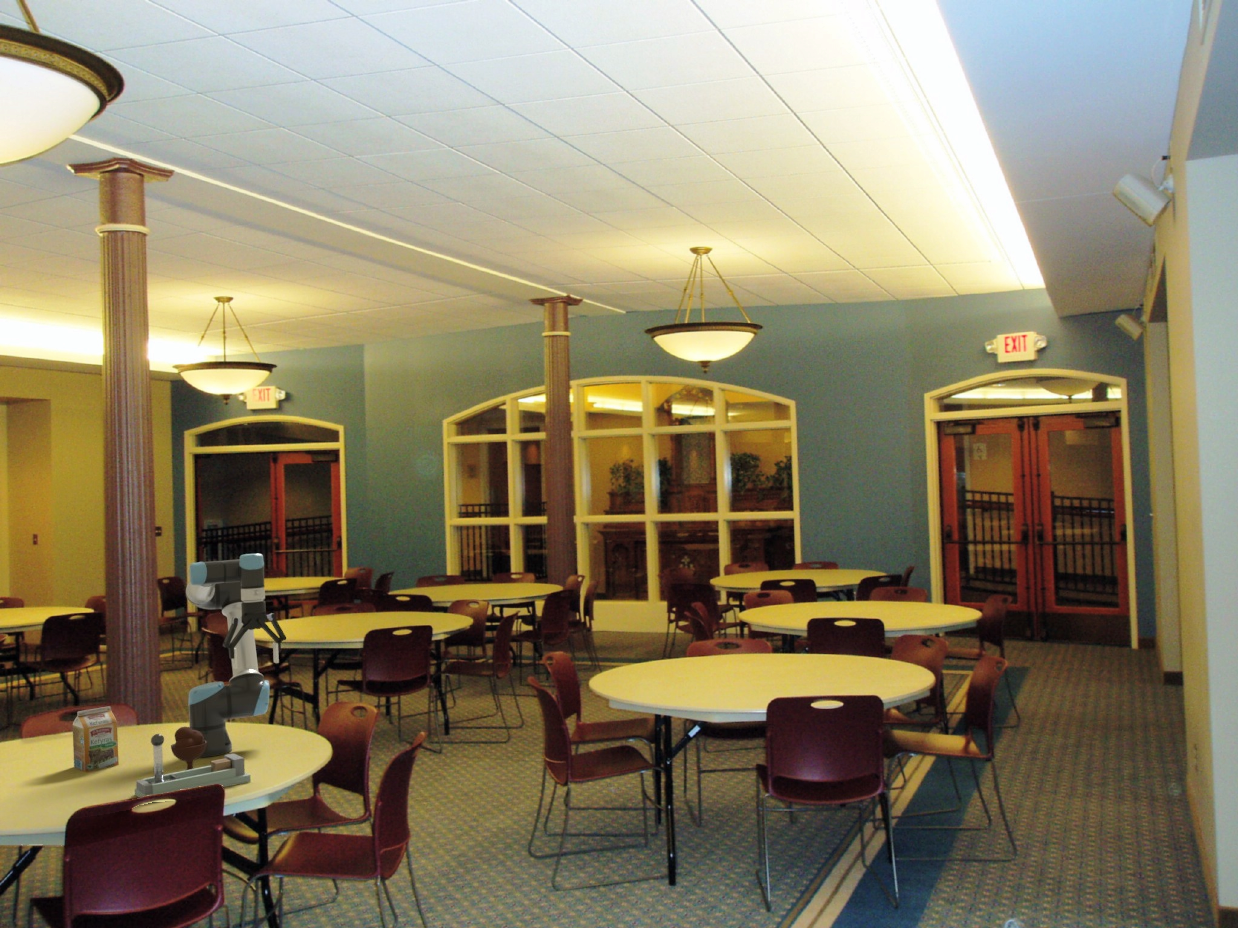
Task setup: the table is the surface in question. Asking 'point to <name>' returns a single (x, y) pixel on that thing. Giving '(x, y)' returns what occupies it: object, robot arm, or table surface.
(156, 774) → the lever
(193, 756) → the ice cream bowl
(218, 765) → the walnut block
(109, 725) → the milk carton
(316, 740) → the table surface
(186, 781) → the grey slotted track
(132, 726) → the table surface
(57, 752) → the table surface
